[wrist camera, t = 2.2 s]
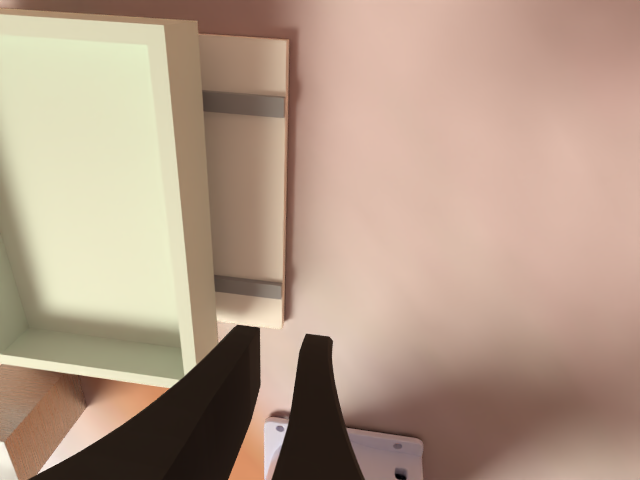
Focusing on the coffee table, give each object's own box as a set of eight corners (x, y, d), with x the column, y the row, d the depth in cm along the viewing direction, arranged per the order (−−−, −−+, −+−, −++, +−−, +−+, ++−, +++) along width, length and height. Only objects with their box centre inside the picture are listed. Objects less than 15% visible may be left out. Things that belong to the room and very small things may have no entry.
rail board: (289, 39, 19) (284, 41, 18) (284, 322, 25) (280, 332, 24) (-140, 10, 20) (-161, 11, 20) (-41, 280, 27) (-54, 289, 26)
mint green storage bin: (209, 19, 18) (163, 25, 14) (226, 336, 25) (198, 392, 21) (-39, 3, 19) (-138, 5, 15) (46, 312, 26) (-9, 362, 22)
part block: (75, 360, 29) (3, 442, 24) (86, 407, 31) (23, 492, 25) (14, 352, 29) (-69, 430, 24) (29, 398, 31) (-45, 481, 26)
